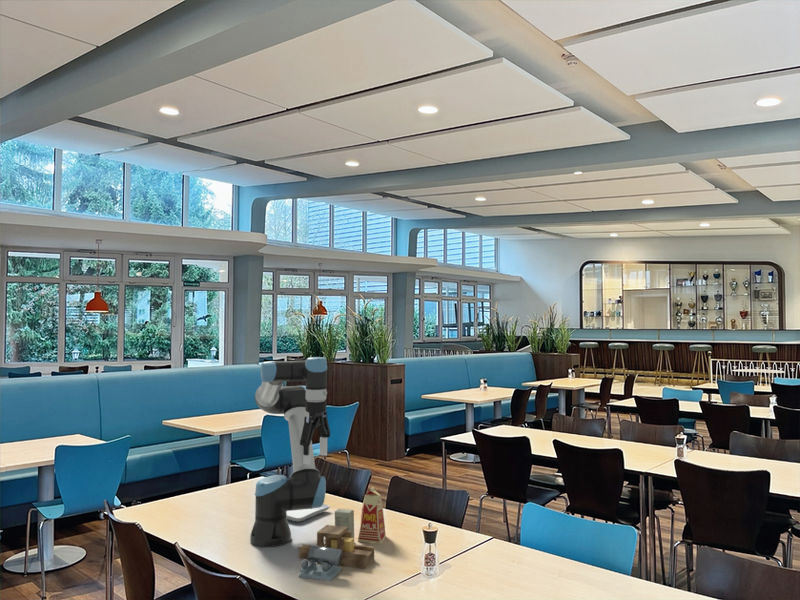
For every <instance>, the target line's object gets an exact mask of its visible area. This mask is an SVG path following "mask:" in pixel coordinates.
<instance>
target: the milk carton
mask: <svg viewBox="0 0 800 600" xmlns="http://www.w3.org/2000/svg"><path fill="white" fill-rule="evenodd" d="M360 517H361V518H360V528H359V532H358V537H357V542H361V543H368V544H380V545H381V544H382V543H383V541H384V540H385V538H386V527H385V526H386V525H385V516H384V507H383V501H382V495H381V494H380V493H379V492H378V491H377V490H375V487H374V486H372V487H369V490H368V492H367V493H365V494H364V497H363V503H362V507H361V514H360Z"/></svg>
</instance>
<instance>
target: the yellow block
mask: <svg viewBox="0 0 800 600" xmlns="http://www.w3.org/2000/svg"><path fill="white" fill-rule="evenodd" d="M342 538H344V551H348V552H352V551H353V550H354V544H355V537H354V538H349V537H342ZM331 548H335V549H337V538H333V539H331Z"/></svg>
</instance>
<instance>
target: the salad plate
mask: <svg viewBox="0 0 800 600" xmlns="http://www.w3.org/2000/svg"><path fill="white" fill-rule="evenodd" d="M330 508H331V505H330V504H324V503H323V505H322V506H321V507H319V508H313V509H303V510H291V511H287V515H286V517H287V519H288V520H287V521H291V520H292V522H295V521H296V522H295V523H297V522H302V521H306V520H307V519H309V518H314V517H315V516H318V515H321V514H322V513H324V512H326V511H328V510H330ZM317 514H318V515H317Z"/></svg>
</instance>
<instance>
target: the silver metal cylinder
mask: <svg viewBox="0 0 800 600" xmlns="http://www.w3.org/2000/svg"><path fill="white" fill-rule="evenodd" d="M342 556H343V553H342V550H341V549H335V548H328V547H322V546H317V545H313V544H312V546H311V547H310V550H309V554H308V558H307V560H308V562H310V561H311V562H316V563H317V562H318V563H319V564H323V563H324V562H326V563H329V565H336V566H337V567H340V566H341V565H340V564H341V561H342ZM318 563H317V564H318Z"/></svg>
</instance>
